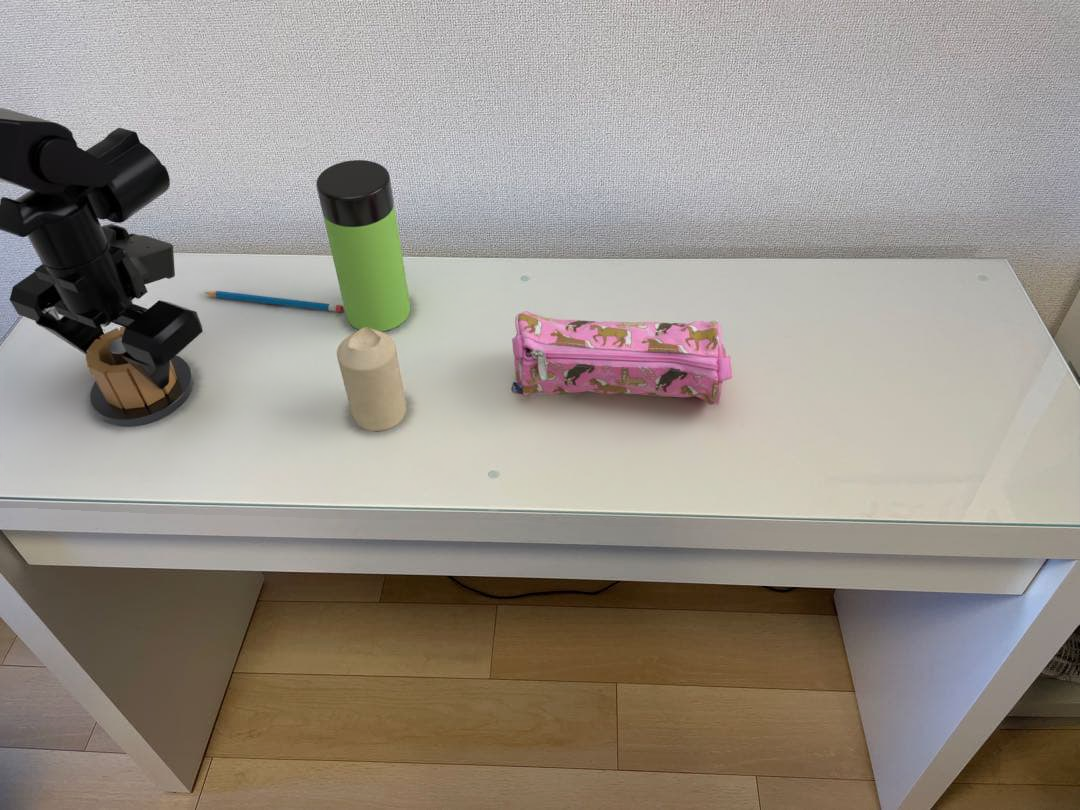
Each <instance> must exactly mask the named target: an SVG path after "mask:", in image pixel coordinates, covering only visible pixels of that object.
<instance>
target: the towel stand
mask: <svg viewBox="0 0 1080 810" xmlns="http://www.w3.org/2000/svg"><path fill="white" fill-rule="evenodd" d="M121 341H122V338H119V339H116V340H115V341H113V342H112V343H111V344H110V346H109V350H110V352H111V354H112V356H113V358H114V360H115V362H116V364H117V365H121V364H128V363H129V362H127V361H126V360H125V359H124V358H123V357H122V355H123V354H124V353H125V352H126V350H125V349H124V346H123V344H122V342H121ZM171 363H172V365H173V367H174V370H175V374H176V377H177V379H176V383H175V384H174V386H173V387H172V389H171V390H170V392H169V393H168V394H164V395H165V397H164V398H162V399H160V400H158V401H156V402H154V403H153V404H151V405H149V406H148V405H147V404H146V403H145V406H144V407H141V408H132V409H125V408H124V407H123V408H122V409H121V408H119V407H116V406H114V405H112V404H110V403H108V401H107V400H106V399H105V397H104V395H103V393H102V391H101V390H100V388H99V386H98V384H97V382H96V380H94V383H93V385H92V387H91V390H90V393H89V397H90V398H89V399H90V400H89V401H90V404H91V406H92V408H93V410H94V411H95V413H96V415H97V416H98V417H99V418H100V419H101V420H103V421H105V422H106V423H109V424H111V425H113V426H118V427H137V426H143V425H147V424H151V423H154V422H157V421H159V420H162V419H164V418H166V417H168V416H169V415H171V414H173V413H174V412H176V411H177V410H178V409H179V408H180V407H181V406H183V404H184V403H186V401H187V400H188V398H189V397H190V396H191V394H192V391H193V389H194V382H195V379H194V374H193V372H192V370H191V367H190V365H189V364H188V363H187V361H185V359H184V358H182V357H180V356H179V355H176V356H175V357H174V358H172V359H171Z"/></svg>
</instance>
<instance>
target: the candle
mask: <svg viewBox="0 0 1080 810" xmlns="http://www.w3.org/2000/svg"><path fill="white" fill-rule="evenodd" d="M336 357H337V362H338V366H339V369H340V373H341V377H342V381H343V385H344V389H345V393H346V398H347V401H348V406H349V409H350V413H351V416H352V419H353V421H354V422H355V424H356V425H357V426H358V427H360V428H362V429H363V430H366V431H371V432H381V431H386V430H389V429H392V428H393V427H395V426H397V425H398V424H400V423H401V421H402V420H403V419H404V417H405V416H406V413H407V402H406V397H405V396H406V395H405V389H404V384H403V379H402V373H401V367H400V363H399V357H398V352H397V346H396V343H395V340H394V339H393V337H391V336H390V335H389V334H387V333H385V332H384V331H382V332H380V331H377V330H373V329H371V328H369V327H365V328H362V329H360V330H359V329H358V330H357V331H355V332H352V333H351V334H350V335H348V336H347V337H346V338H344V339H343V340H342V341H341V343H339V345H338V347H337V349H336Z"/></svg>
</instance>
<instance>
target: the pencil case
mask: <svg viewBox="0 0 1080 810" xmlns="http://www.w3.org/2000/svg"><path fill="white" fill-rule="evenodd" d="M514 323H515V324H514V325H515V331H516V333H515V336H514V337H513V338H512V339H511V343H512V352H513V357H514V359H513V361H514V363H513V364H514V372H515V379H516V381H513V382H512V385H511V389H510V390H511V392H512V393H513V394H515V395H522V396H525V397H526V396H530V395H533V394H542V395H549V394H550V395H559V394H564V395H568V394H569V395H570V394H573V393H586V392H591V393H596V394H597V393H598V394H603V395H614V394H631V395H643V396H648V397H649V396H654V397H662V398H663V397H664V398H669V397H670V398H671V397H674V398H675V397H676V398H691V397H696V398H698V399H700V400H702V401H704V402H706V403H707V404H709V405H711V406H712V405H714V406H717V405H719V404H720V402H721V398H722V397H721V396H722V387H723V386H722V384H723V382H725V381H727V380H730V379H731V380H732V379H733V373H732V372H733V371H732V363H731V356H730V355H727V351H726V347H725V345H724V343H723V332H722V326H721V325H722V324H721V323H720V322H718V321H716V320H711V321H704V320H698V321H692V322H689V323H685V322H684V323H683V322H681V323H680V322H665V321H664V322H663V321H638V322H637V321H636V322H635V321H634V322H633V321H632V322H629V321H595V320H581V319H580V320H579V319H563V318H562V319H560V318H559V319H558V318H554V317H545V316H542V315H539V314H535V313H532V312H530V311H522V312H520V313H517V314H516V315H515V319H514Z"/></svg>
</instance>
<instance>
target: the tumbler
mask: <svg viewBox="0 0 1080 810" xmlns="http://www.w3.org/2000/svg"><path fill="white" fill-rule="evenodd" d="M315 185H316V190H317V196H318V199H319V203H320V208H321V213H322V216H323V221H324V226H325V230H326V234H327V239H328V242H329V247H330V251H331V256H332V260H333V264H334V268H335V274H336V277H337V281H338V286H339V291H340V296H341V299H342V303H343V309H344V312H345V316H346V319H347V321H348V323H349V325H351V326H352V327H353V328H354V329H357V330H358V331H359V330H360V329H362V328H365V327H369V328H371V329H373V330H377V331H380V332H386V331H387V332H388V331H390V330H393V329H396V328H397V327H398V326H400V325H402V324H403V323H404V322H405V321H406V320H407V319H408V317H409V315H410V313H411V302H410V294H409V288H408V282H407V277H406V276H407V275H406V269H405V264H404V263H405V262H404V258H403V256H404V255H403V250H402V245H401V239H400V231H399V227H398V225H399V224H398V219H397V213H396V206H395V201H394V195H393V188H392V182H391V176H390V171H388V169H387V168H386V167H385V166H384V165H382V164H380V163H379V162H378V163H377V162H375V161H373V160H364V159H353V160H345V161H341V162H337V163H335V164H333V165H331V166H329V167H327V168H325V169H324V170H323V171H322V172H321V173H320V174H319V175H318V177H317V179H316V182H315Z"/></svg>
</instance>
